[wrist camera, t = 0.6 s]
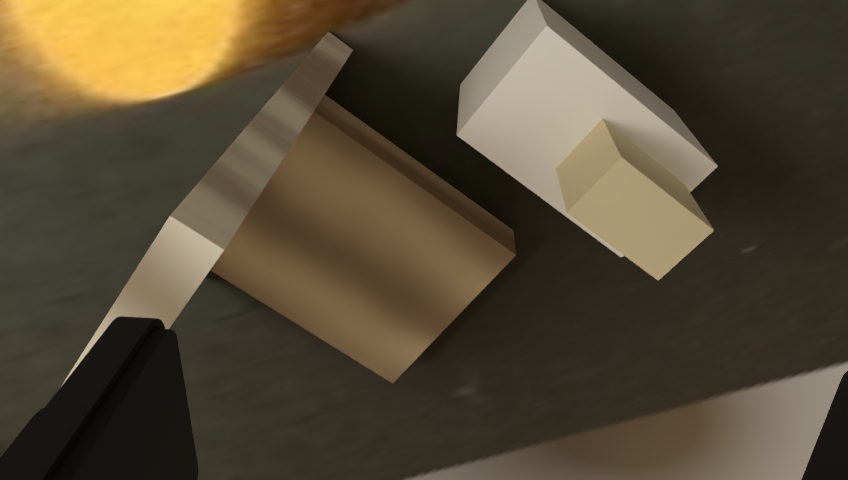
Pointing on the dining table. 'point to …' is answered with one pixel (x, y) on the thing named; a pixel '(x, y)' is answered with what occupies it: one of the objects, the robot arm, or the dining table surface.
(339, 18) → the dining table surface
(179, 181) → the dining table surface
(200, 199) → the wooden l-shaped stand
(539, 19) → the beige and white blocks
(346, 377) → the dining table surface
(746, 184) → the dining table surface
